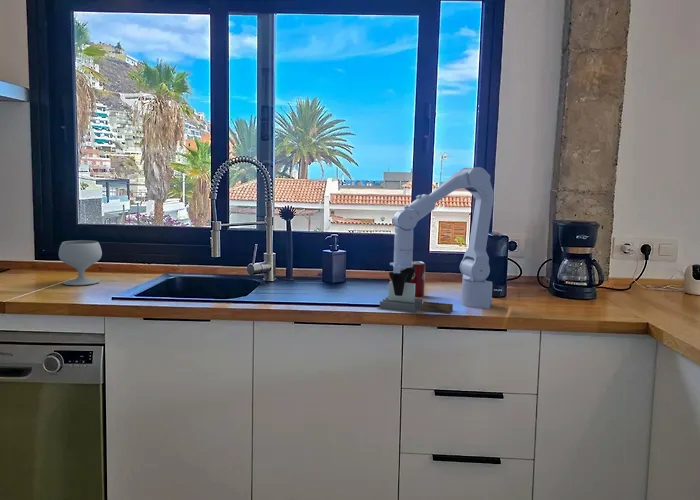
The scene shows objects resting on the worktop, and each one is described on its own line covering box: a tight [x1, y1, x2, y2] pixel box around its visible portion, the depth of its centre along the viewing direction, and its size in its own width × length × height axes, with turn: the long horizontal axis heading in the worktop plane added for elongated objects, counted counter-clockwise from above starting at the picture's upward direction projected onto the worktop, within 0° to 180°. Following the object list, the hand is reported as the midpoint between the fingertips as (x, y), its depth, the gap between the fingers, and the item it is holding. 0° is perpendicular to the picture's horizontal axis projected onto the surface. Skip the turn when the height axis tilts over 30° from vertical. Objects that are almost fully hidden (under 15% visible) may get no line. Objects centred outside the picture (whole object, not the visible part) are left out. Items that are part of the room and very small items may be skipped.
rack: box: [376, 295, 423, 314], centre depth 168 cm, size 12×13×3 cm
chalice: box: [58, 239, 103, 286], centre depth 195 cm, size 14×14×15 cm
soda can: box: [410, 260, 426, 298], centre depth 186 cm, size 7×7×12 cm
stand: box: [419, 300, 454, 315], centre depth 164 cm, size 9×6×3 cm, turn 70°
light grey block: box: [388, 280, 416, 302], centre depth 167 cm, size 8×1×8 cm, turn 70°
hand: (401, 293), depth 167 cm, fingers open, 7 cm apart
